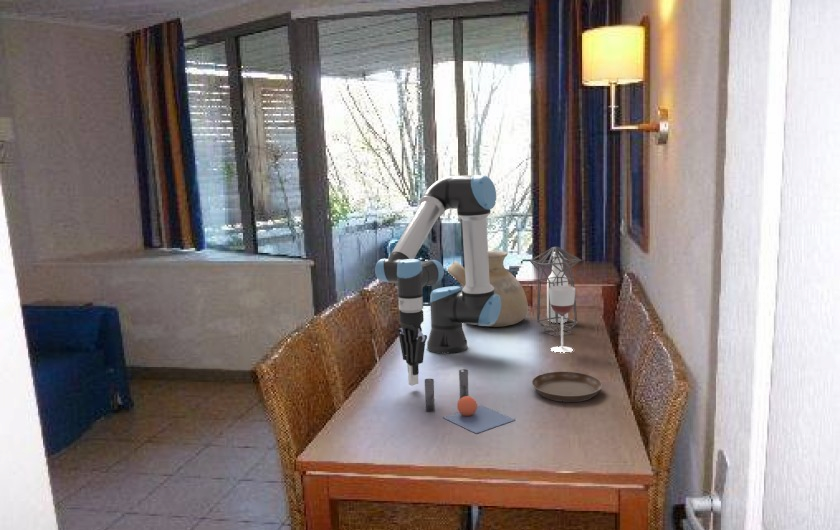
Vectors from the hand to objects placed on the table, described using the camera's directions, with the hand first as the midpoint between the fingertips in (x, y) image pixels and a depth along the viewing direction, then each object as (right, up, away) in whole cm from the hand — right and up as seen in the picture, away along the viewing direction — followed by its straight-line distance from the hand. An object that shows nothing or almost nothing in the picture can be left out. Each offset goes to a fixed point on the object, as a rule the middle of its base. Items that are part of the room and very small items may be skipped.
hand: (413, 383), depth 208 cm
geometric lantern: (+57, +10, +61) cm, 84 cm away
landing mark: (+18, -5, -25) cm, 31 cm away
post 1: (+5, -4, -17) cm, 18 cm away
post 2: (+15, -3, -10) cm, 18 cm away
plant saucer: (+46, -2, -6) cm, 47 cm away
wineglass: (+54, +6, +37) cm, 66 cm away
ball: (+15, -2, -22) cm, 27 cm away
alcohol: (+61, +13, +79) cm, 100 cm away
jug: (+32, +12, +82) cm, 88 cm away
